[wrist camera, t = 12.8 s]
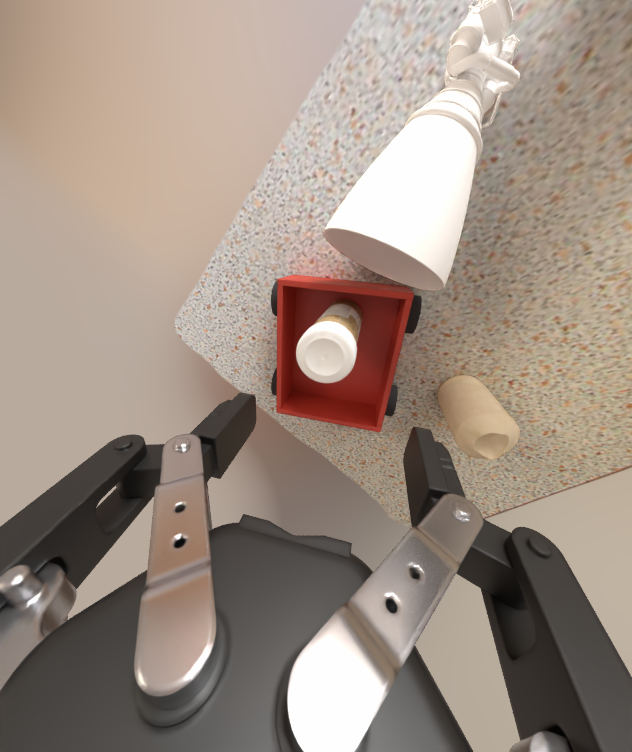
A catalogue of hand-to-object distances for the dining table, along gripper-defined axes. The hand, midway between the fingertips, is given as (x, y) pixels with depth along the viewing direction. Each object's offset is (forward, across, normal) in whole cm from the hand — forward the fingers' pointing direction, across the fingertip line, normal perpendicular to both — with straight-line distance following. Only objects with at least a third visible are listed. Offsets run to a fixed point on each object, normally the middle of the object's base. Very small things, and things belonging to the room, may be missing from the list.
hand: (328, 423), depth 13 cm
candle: (+21, -14, +7) cm, 26 cm away
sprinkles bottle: (+20, +2, -1) cm, 20 cm away
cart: (+21, +2, +3) cm, 21 cm away
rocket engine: (+21, -5, -14) cm, 26 cm away
